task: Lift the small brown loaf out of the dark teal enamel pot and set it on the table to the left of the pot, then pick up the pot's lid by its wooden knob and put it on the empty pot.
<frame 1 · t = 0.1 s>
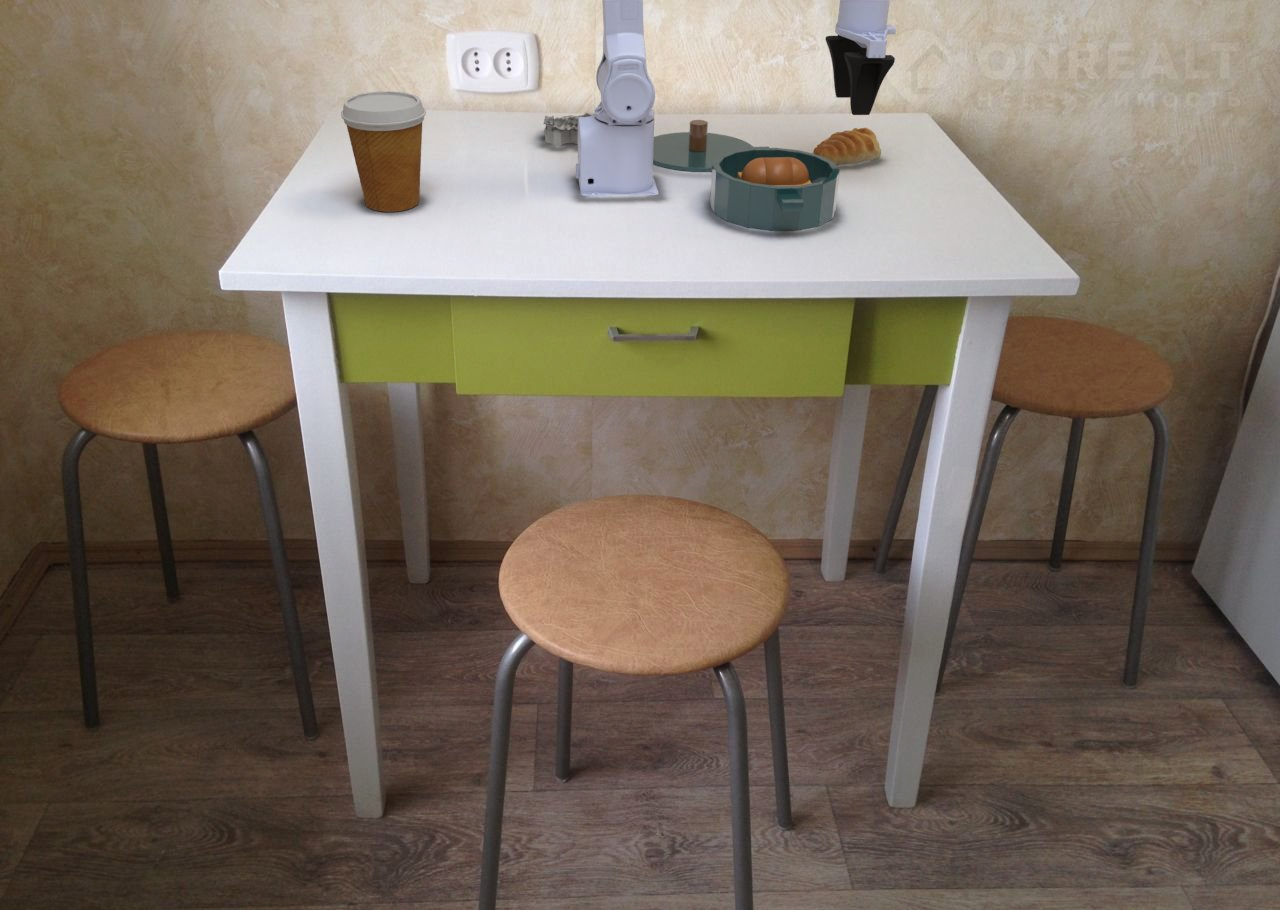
hand: (852, 105, 139), 10 cm above the table, tool pointing down, fingers open, 7 cm apart
bread: (772, 208, 136), resting on pot
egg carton: (582, 143, 157), on the table
disposable coffee cup: (392, 204, 136), on the table
pastry: (846, 161, 153), on the table
lid: (697, 152, 153), point 1 cm above the table
pot: (772, 212, 136), on the table
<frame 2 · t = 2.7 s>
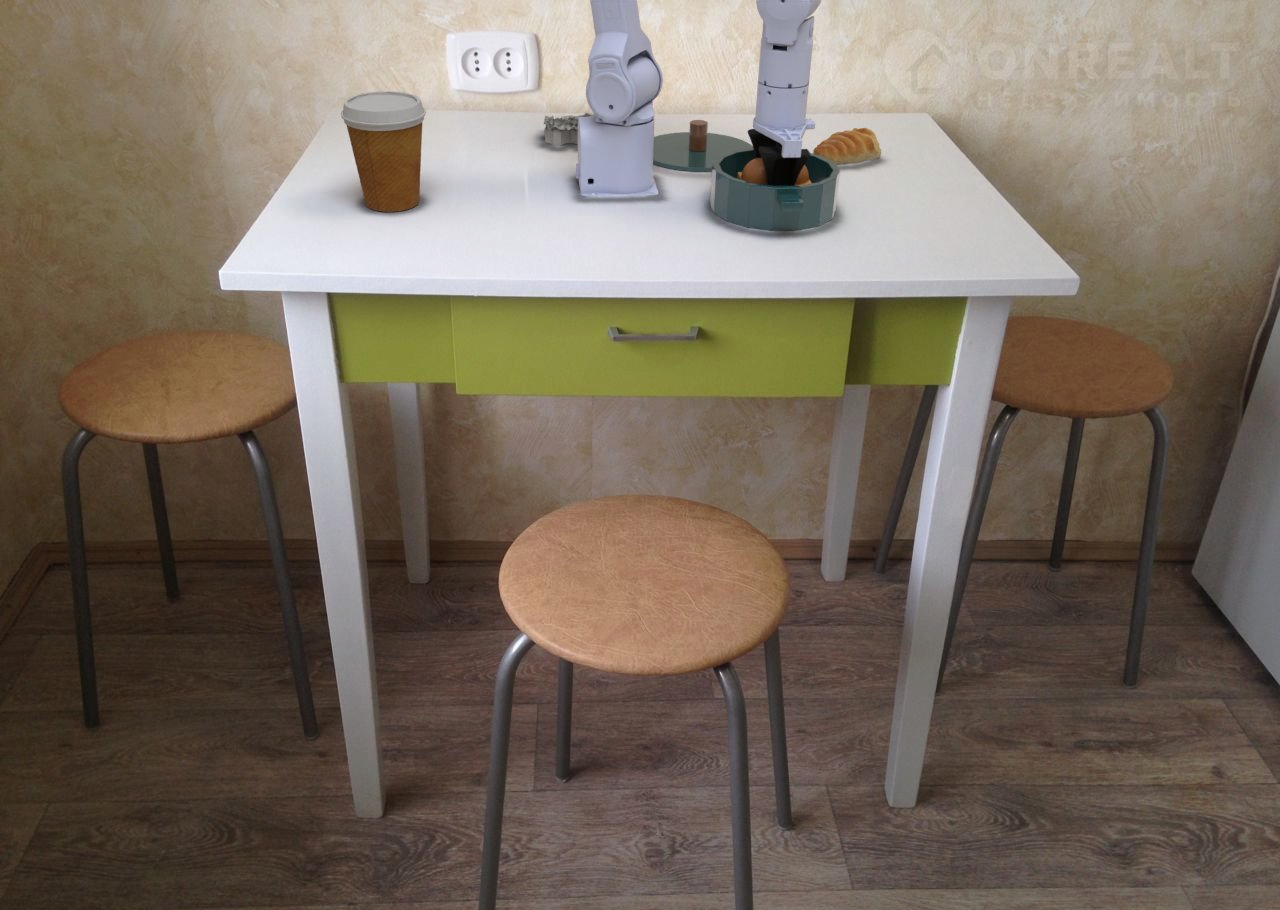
hand: (773, 199, 135), 2 cm above the table, tool pointing down, fingers closed on bread, 5 cm apart
bread: (772, 207, 136), point 1 cm above the table, touching gripper, pot
everything else where it was.
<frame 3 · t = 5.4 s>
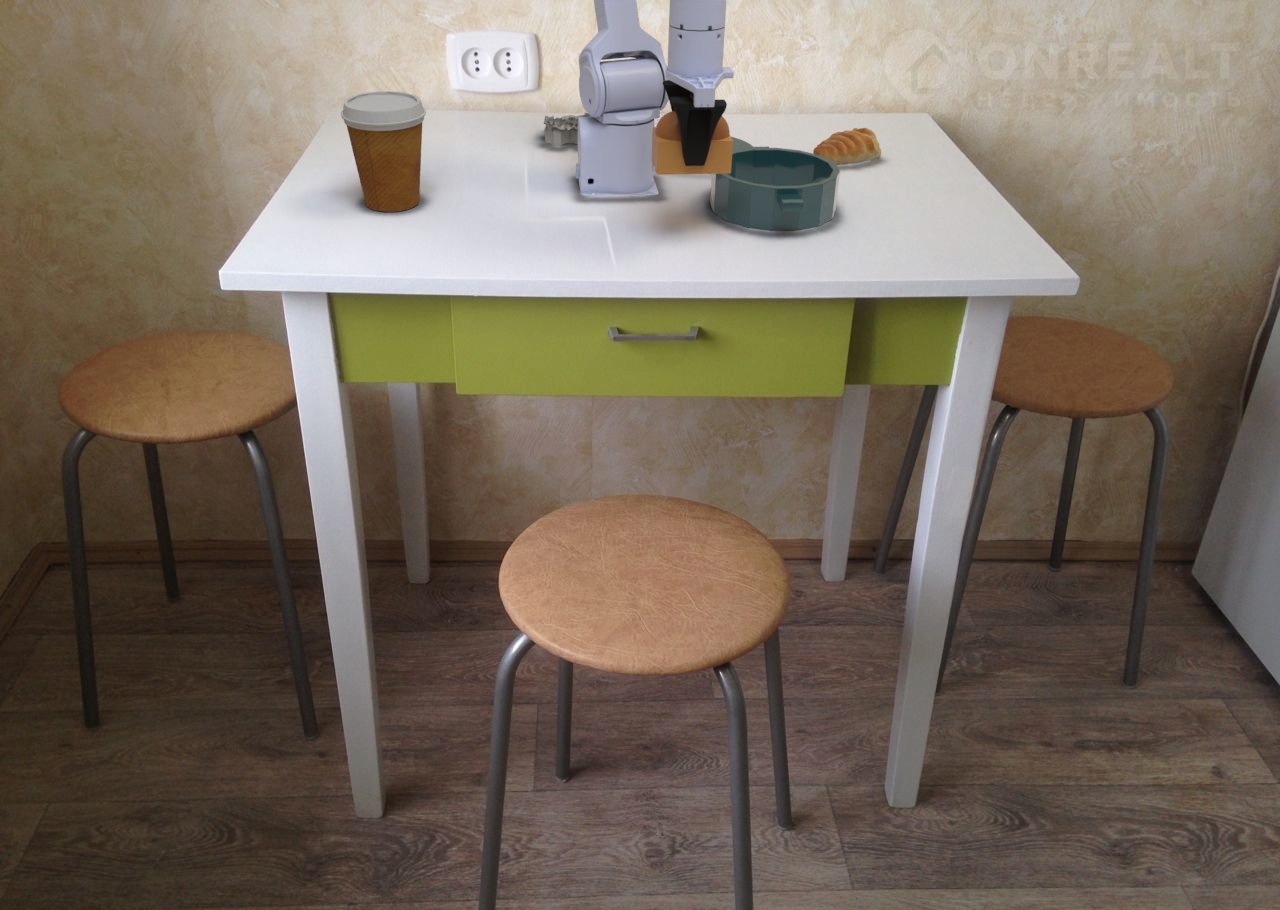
hand: (690, 156, 123), 9 cm above the table, tool pointing down, fingers closed on bread, 5 cm apart
bread: (690, 166, 124), point 8 cm above the table, touching gripper
everything else where it was.
when the fingers open (1 cm above the table, at t = 8.0 s): bread stays where it is, on the table.
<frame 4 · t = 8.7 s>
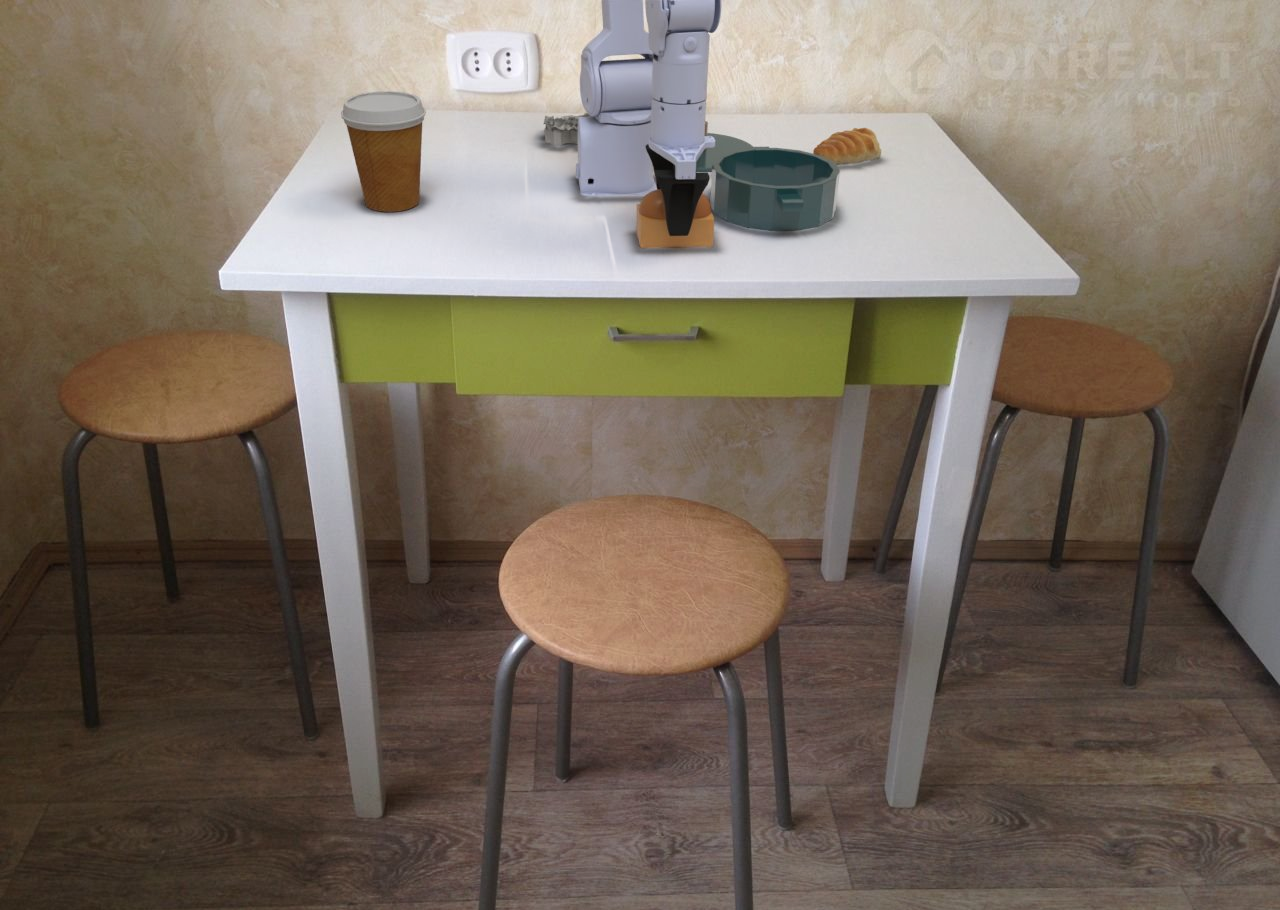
hand: (674, 221, 126), 2 cm above the table, tool pointing down, fingers open, 7 cm apart
bread: (673, 242, 127), on the table
everything else where it was.
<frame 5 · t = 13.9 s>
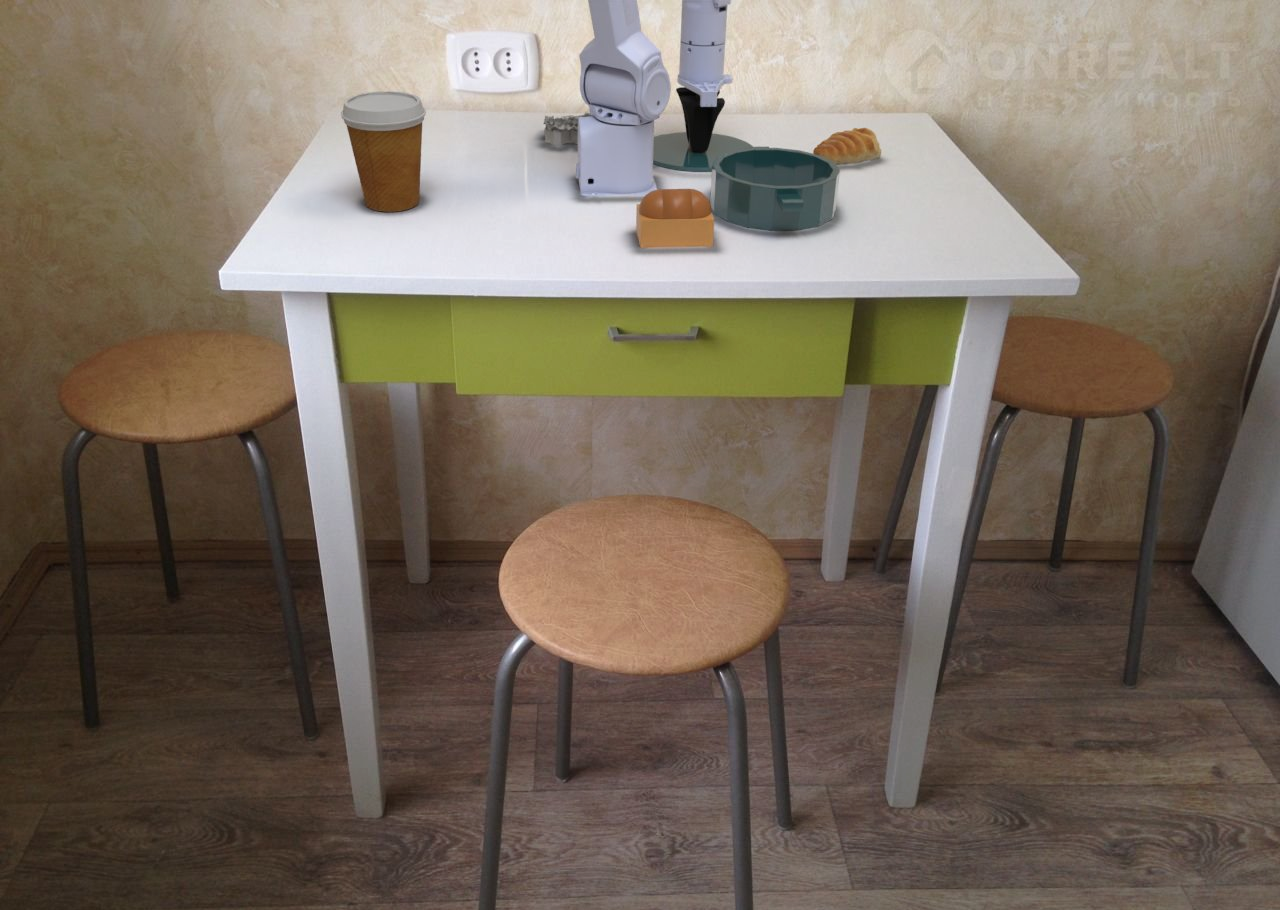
hand: (697, 147, 152), 1 cm above the table, tool pointing down, fingers closed on lid, 2 cm apart
lid: (697, 152, 153), point 1 cm above the table, touching gripper
everything else where it was.
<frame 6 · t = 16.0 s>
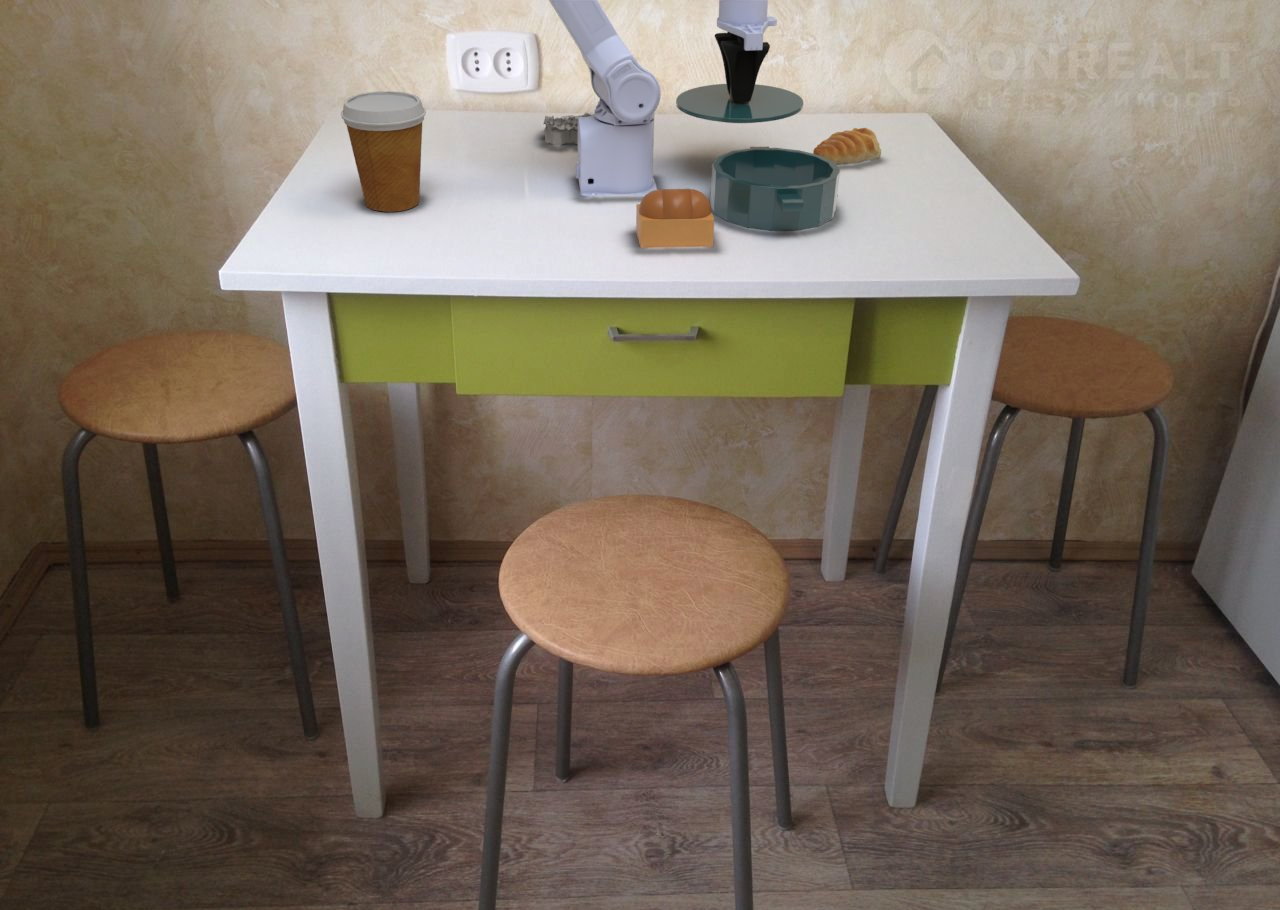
hand: (739, 97, 140), 10 cm above the table, tool pointing down, fingers closed on lid, 2 cm apart
lid: (739, 104, 140), point 10 cm above the table, touching gripper
everything else where it was.
when the fingers open (6 cm above the table, at t = 18.5 s): lid stays where it is, resting on pot.
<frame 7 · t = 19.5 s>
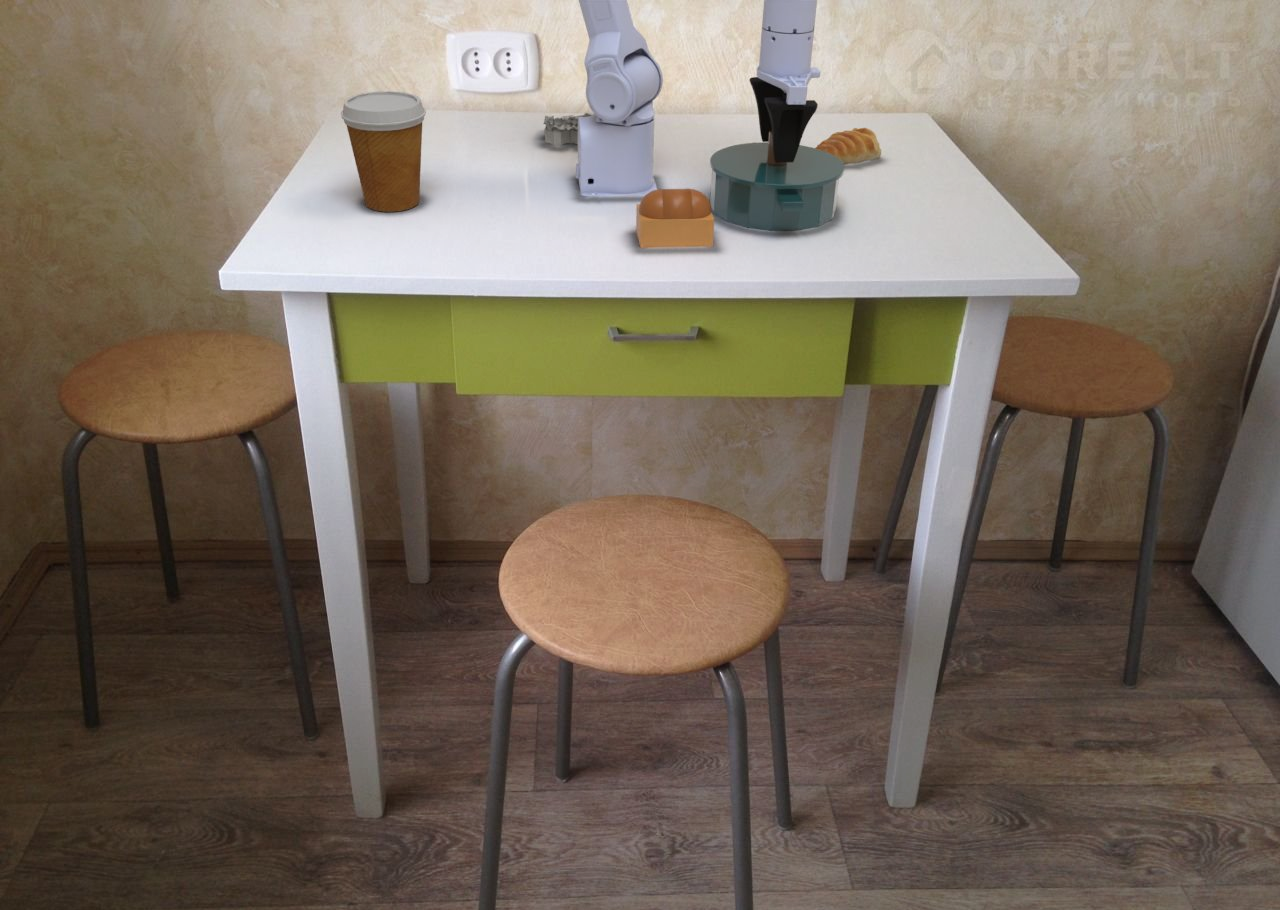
hand: (777, 151, 132), 7 cm above the table, tool pointing down, fingers open, 7 cm apart
lid: (776, 166, 133), point 5 cm above the table, touching pot
everything else where it was.
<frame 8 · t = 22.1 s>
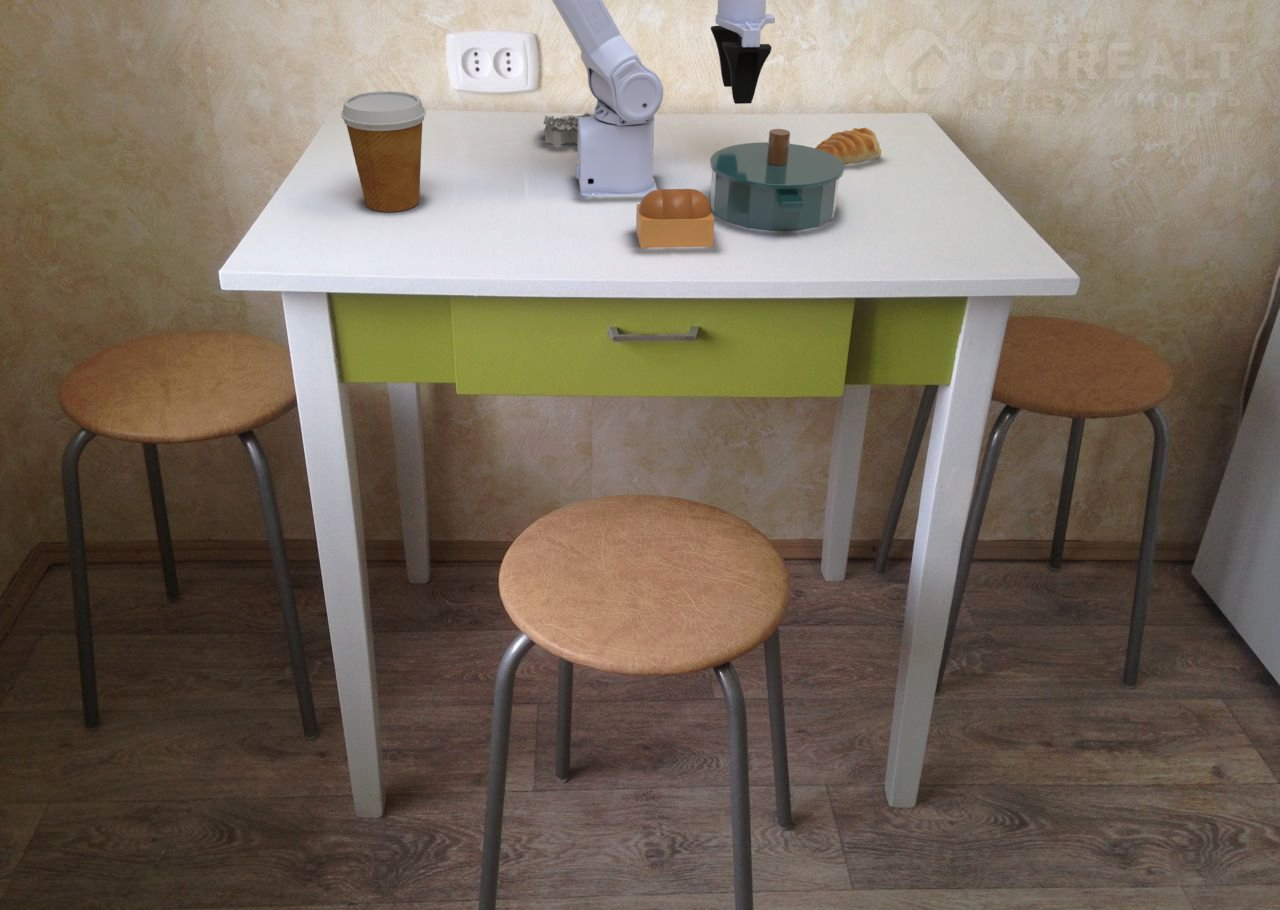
hand: (737, 94, 141), 10 cm above the table, tool pointing down, fingers open, 7 cm apart
nothing on the table moved.
at the end: bread inside the target area (0.0 cm from its centre), on the table; lid 0.1 cm off-centre on the pot, point 5.5 cm above the pot's base; lid tilted 0° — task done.
